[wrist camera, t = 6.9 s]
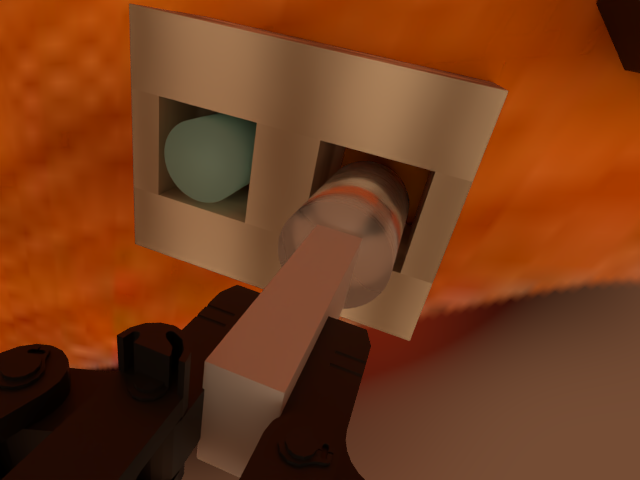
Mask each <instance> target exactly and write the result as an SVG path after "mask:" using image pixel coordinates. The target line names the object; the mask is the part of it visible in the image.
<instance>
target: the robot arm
mask: <svg viewBox="0 0 640 480" xmlns="http://www.w3.org/2000/svg"><path fill="white" fill-rule="evenodd" d="M362 239H363V238H360V237H356V236H353V235H350V234H347V233H344V232H341V231H337V230H334V229H331V228H328V227H325V226H322V225H318V224H317V225H316V227H315V228H314V229H313V230H312V232H311V233H310V234H309V235H308V236H307V238H306V239H305V240H304V241H303V242H302V244H301V245H300V246H299V247H298V249H297V250H296V251H295V252H294V253H293V255H292V256H291V257H290V258H289V259H288V261H287V262H286V263H285V264H284V266H283V267H282V268H281V269H280V270H279V272H278V273H277V274H276V275H275V276H274V278H273V279H272V280H271V281H270V283H269V284H268V285H267V286H266V287H265V289H264V290H263V291H262V292H261V293H258V292H256V291H253V290H250V289H247V288H245V287H242V286H239V285H236V286H233V287H231V288H229V289H227V290H224V291H222V292H220V293H219V294H218V295H217V296H216V297H215V298H214V299H213V300H212V301H211V302H210V303H209V304H208V306H207V307H205V308H204V309H203V310H202V311H201V312H200V313H199V314H198V316H197V317H195V318H194V319H193V320H192V321H191V322H190V323H189V324H188V325H187V326H186V327H185V328H184V329H183V330H181V329H179V328H177V327H176V326H173V325H169V324H164V323H144V324H141V325H137V326H134V327H130V328H128V329H127V330H125V331H123V332H122V333H120V334H118V335H117V346H118V364H119V370H118V371H117V372H112V371H95V370H85V369H75V368H69V362H68V358H67V357H66V355H65V354H64V352H63V351H62V350H60V349H58V348H56V347H54V346H51V345H41V344H33V345H26V346H19V347H16V348H13V349H10V350H8V351H5V352H2V353H0V480H181V479H182V477H183V475H184V463H185V461H186V460H187V458H188V456H189V455H190V454H191V452H192V451H193V449H194V448H195V446H196V445H197V443H198V448H197V449H198V450H197V459H200V460H202V461H204V462H206V463H208V464H211V465H213V466H215V467H217V468H220V469H222V470H224V471H226V472H228V473H231V474H233V475H235V476H237V477H239V478H240V479H239V480H365V479H364V478H363V477H362V476H361V475H360V474H359V473H358V472H357V470H356V469H355V467H354V466H353V464H352V463H351V460H350V457H349V455H348V452H347V447H346V433H347V427H348V424H349V421H350V417H351V413H352V410H353V407H354V403H355V400H356V396H357V393H358V390H359V386H360V383H361V378H362V375H363V372H364V369H365V365H366V362H367V358H368V355H369V351H370V347H371V345H370V341H369V337H368V333H367V330H366V329H363V328H360V327H357V326H355V325H352V324H349V323H346V322H343V321H341V320H338V319H339V316H340V314H341V312H342V310H343V307H344V304H345V300H346V296H347V293H348V289H349V286H350V282H351V278H352V275H353V271H354V268H355V264H356V261H357V257H358V253H359V250H360V246H361V243H362Z"/></svg>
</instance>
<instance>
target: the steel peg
mask: <svg viewBox="0 0 640 480" xmlns="http://www.w3.org/2000/svg"><path fill="white" fill-rule="evenodd" d="M408 212H409V196H408V192H407V189H406V187H405V185H404V183H403V182H402V180H401V179H400V178H399V176H398V175H397V174H396V173H395V172H393V171H392V170H391V169H389V168H388V167H386V166H384V165H382V164H379V163H376V162H371V161H358V162H353V163H350V164H348V165H346V166H344V167H342V168H341V169H339V170H338V171H337V172H336V173H335V174H334V175H333V176H332V177H331V178H330V179H329V180H327V181H326V182H325V183H324V184H323V185H322V186H321V187H320V188H319V189H318V190H317V191H316V192H315V193H314V194H313V195H312V196H311V197H310V198H309V199H308V200H307V201H306V202H305V203H304V204H303V205H302V206H301V207H300V208H299V209H298V210H297V211H296V212H295V213H294V214H293V215H292V216H291V217H290V218H289V219H288V220H287V222H286V223H285V225H284V226H283V228H282V231H281V233H280V236H279V241H278V256H279V261H280V264H281V267H283V266H284V264H285V263H286V262H287V261H288V259H289V258H290V257H291V256H292V255H293V253H294V252H295V251H296V250H297V249H298V247H299V246H300V245H301V244H302V242H303V241H304V240H305V239H306V238H307V236H308V235H309V234H310V233H311V232H312V230H313V229H314V228H315V227H316V225H317V224H318V225H322V226H325V227H328V228H331V229H334V230H337V231H341V232H344V233H347V234H350V235H353V236H356V237H360V238H363V239H362V243H361V246H360V250H359V253H358V257H357V261H356V264H355V268H354V271H353V275H352V278H351V282H350V286H349V289H348V293H347V296H346V300H345V304H344V307H343V309H350V308H356V307H359V306H362V305H365V304H367V303H369V302H371V301H372V300H374V299H375V298H376V297H377V296H378V295H380V294H381V292H382V291H383V290H384V289H385V287H386V285H387V284H388V282H389V279H390V277H391V273H392V269H393V266H394V262H395V259H396V255H397V252H398V248H399V244H400V241H401V237H402V234H403V230H404V227H405V223H406V220H407V216H408Z"/></svg>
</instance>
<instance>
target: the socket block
mask: <svg viewBox="0 0 640 480" xmlns="http://www.w3.org/2000/svg"><path fill="white" fill-rule="evenodd" d="M129 15H130V55H131V95H132V135H133V175H134V215H135V244H137V245H140V246H143V247H145V248H148V249H151V250H154V251H157V252H160V253H162V254H165V255H168V256H171V257H174V258H177V259H179V260H182V261H185V262H188V263H191V264H194V265H196V266H199V267H202V268H205V269H208V270H211V271H213V272H216V273H219V274H222V275H225V276H228V277H230V278H233V279H236V280H239V281H242V282H245V283H247V284H250V285H253V286H256V287H259V288H262V289H265V287H266V286H267V285H268V284H269V283H270V281H271V280H272V279H273V278H274V276H275V275H276V274H277V273H278V272H279V270H280V269H281V268H282V267H281V264H280V261H279V256H278V241H279V236H280V233H281V231H282V228H283V226H284V225H285V223H286V222H287V220H288V219H289V218H290V217H291V216H292V215H293V214H294V213H295V212H296V211H297V210H298V209H299V208H300V207H301V206H302V205H303V204H304V203H305V202H306V201H307V200H308V199H309V198H310V197H311V196H312V195H313V194H314V193H315V192H316V191H317V190H318V189H319V188H320V187H321V186H322V185H323V184H324V183H325V182H326V181H327V180H329V179H330V178H331V177H332V176H333V175H334V174H335V173H336V172H337V171H338V170H339V169H340V168H341V164H342V159H343V155H344V151H345V147H347V148H351V149H354V150H358V151H362V152H365V153H369V154H373V155H376V156H380V157H384V158H387V159H391V160H395V161H398V162H402V163H406V164H409V165H413V166H416V167H420V168H424V169H427V170H431V171H430V174H429V176H428V179H427V182H426V185H425V188H424V191H423V194H422V197H421V200H420V203H419V206H418V209H417V212H416V215H415V218H414V221H413V224H412V226H410V225H407V224H405V227H404V230H403V234H402V237H401V241H400V244H399V248H398V252H397V255H396V259H395V262H394V266H393V269H392V273H391V277H390V279H389V282H388V284H387V285H386V287H385V289H384V290H383V291H382V292H381V294H380V295H378V296H377V297H376V298H375V299H374V300H372V301H371V302H369V303H367V304H365V305H362V306H359V307H356V308H350V309H343V310H342V312H341V314H340V316H341V317H344V318H346V319H349V320H352V321H355V322H358V323H361V324H363V325H366V326H369V327H372V328H375V329H378V330H380V331H383V332H386V333H389V334H392V335H395V336H398V337H401V338H403V339H406V340H409V341H410V338H411V336H412V333H413V331H414V328H415V326H416V323H417V321H418V318H419V316H420V313H421V311H422V308H423V306H424V303H425V301H426V298H427V296H428V293H429V291H430V288H431V285H432V283H433V280H434V278H435V275H436V273H437V270H438V268H439V265H440V263H441V260H442V258H443V255H444V253H445V250H446V248H447V245H448V243H449V240H450V237H451V235H452V232H453V230H454V227H455V225H456V222H457V220H458V217H459V215H460V212H461V210H462V207H463V205H464V202H465V200H466V197H467V195H468V192H469V189H470V187H471V184H472V182H473V179H474V177H475V174H476V172H477V169H478V167H479V164H480V162H481V159H482V157H483V154H484V152H485V149H486V147H487V144H488V141H489V139H490V136H491V134H492V131H493V129H494V126H495V124H496V121H497V119H498V116H499V114H500V111H501V109H502V106H503V104H504V101H505V99H506V96H507V94H508V91H507V90H506V89H504V88H502V87H500V86H499V85H497V84H495V83H493V82H489V81H485V80H480V79H476V78H471V77H467V76H463V75H458V74H454V73H450V72H445V71H441V70H436V69H432V68H428V67H423V66H419V65H415V64H410V63H406V62H401V61H397V60H393V59H388V58H384V57H380V56H375V55H371V54H366V53H362V52H358V51H353V50H349V49H345V48H340V47H336V46H331V45H327V44H323V43H318V42H314V41H310V40H305V39H301V38H297V37H292V36H288V35H283V34H279V33H275V32H270V31H266V30H262V29H257V28H253V27H248V26H244V25H240V24H235V23H231V22H227V21H222V20H218V19H213V18H209V17H205V16H199V15H193V14H187V13H181V12H176V11H170V10H164V9H158V8H152V7H146V6H141V5H135V4H129ZM216 113H223V114H227V115H230V116H234V117H238V118H241V119H245V120H249V121H252V122H256V123H257V126H256V135H255V143H254V151H253V160H252V168H251V176H250V183H249V184H248V185H246V186H244V187H243V188H241V189H239V190H238V191H236V192H235V193H233V194H231V195H230V196H228V197H226V198H225V199H223V200H221V201H218V202H214V203H205V202H200V201H197V200H194V199H192V198H190V197H189V196H187V195H186V194H185V193H183V192H182V191H181V190H180V189H179V188H178V187H177V185H176V184H175V183H174V181H173V180H172V178H171V176H170V174H169V172H168V170H167V167H166V163H165V156H164V149H165V143H166V139H167V137H168V135H169V133H170V132H171V130H172V129H173V128H174V127H175V126H176V125H178V124H179V123H181V122H183V121H186V120H190V119H195V118H199V117H203V116H208V115H212V114H216Z"/></svg>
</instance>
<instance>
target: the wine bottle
mask: <svg viewBox="0 0 640 480" xmlns="http://www.w3.org/2000/svg"><path fill="white" fill-rule="evenodd" d="M596 4H597V6H598V8H599V11H600V13H601V15H602V18H603V20H604V22H605V25H606V27H607V30H608V32H609V34H610V37H611V39H612V41H613V44H614V46H615V48H616V51H617V53H618V55H619V58H620V60H621V62H622V65H623V67H624V69H625V70H628V71H633V72H638V73H640V0H598V1H597V3H596Z"/></svg>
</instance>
